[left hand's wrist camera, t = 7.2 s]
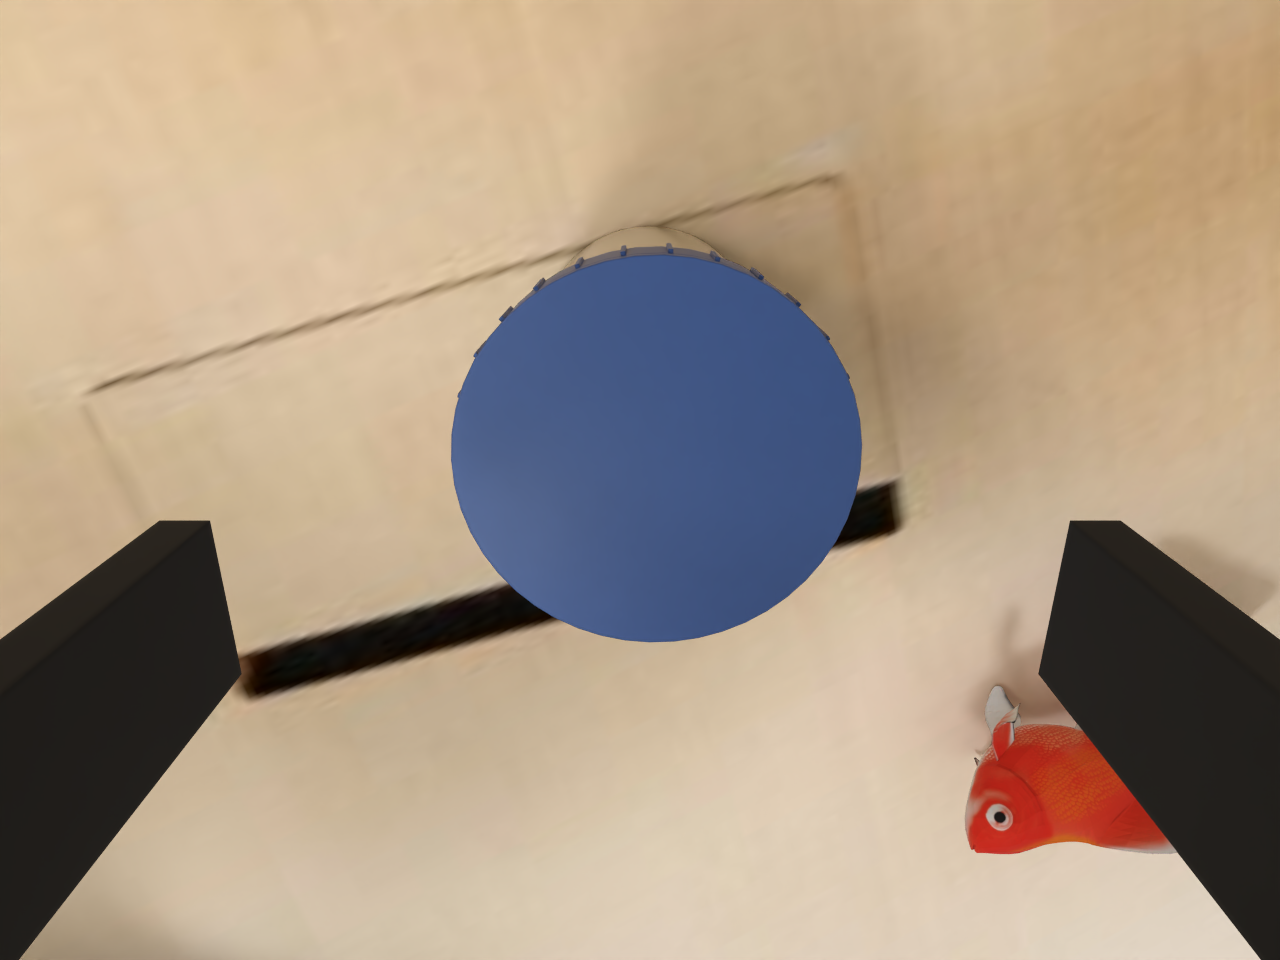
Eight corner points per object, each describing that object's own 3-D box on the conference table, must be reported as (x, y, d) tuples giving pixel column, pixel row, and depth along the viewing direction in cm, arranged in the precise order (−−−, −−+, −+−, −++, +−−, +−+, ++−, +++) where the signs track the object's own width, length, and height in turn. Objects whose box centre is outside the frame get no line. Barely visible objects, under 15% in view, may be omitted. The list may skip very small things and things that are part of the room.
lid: (498, 621, 23) (485, 661, 21) (430, 265, 19) (408, 276, 17) (846, 589, 22) (865, 627, 20) (841, 221, 19) (863, 227, 17)
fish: (924, 645, 33) (1148, 863, 26) (1183, 511, 38) (1428, 663, 31) (885, 788, 40) (1054, 991, 33) (1110, 658, 45) (1297, 809, 38)
